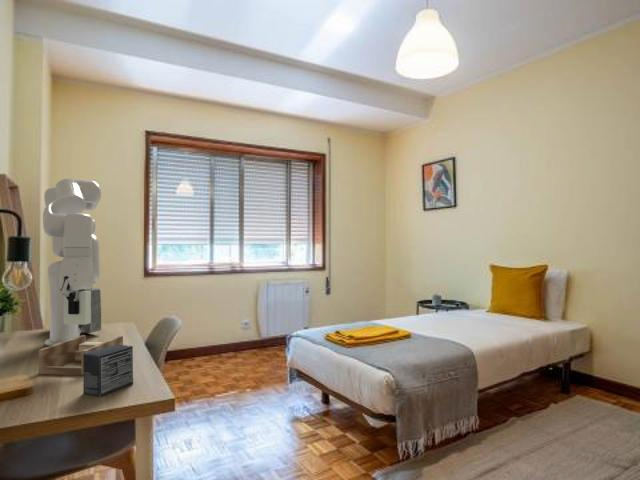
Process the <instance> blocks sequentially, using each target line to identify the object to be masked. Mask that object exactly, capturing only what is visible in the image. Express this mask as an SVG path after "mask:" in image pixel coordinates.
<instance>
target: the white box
mask: <svg viewBox="0 0 640 480" xmlns="http://www.w3.org/2000/svg"><path fill="white" fill-rule="evenodd" d="M73 295H74V293H73ZM78 301H79V314H68V301H67V298H66V297H65V296H64V324H79V325H86V324H89V323H91V291H78Z"/></svg>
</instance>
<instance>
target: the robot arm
mask: <svg viewBox="0 0 640 480" xmlns="http://www.w3.org/2000/svg"><path fill="white" fill-rule="evenodd" d="M43 196H44V204H45V207H44V209H43V212H42V227H43V230H44V233H45V234H46V235H47V236H48V237H51V239H52V240H51V241H52V243H51V246H52V253H53V255H54V256H56V257H58V258H61V260H57V261H54V262H51V263H50V264H49V265H48V268H47V278H48V285H49V297H50V298H49V299H50V300H49V301H50V302H49V303H50V305H49V308H50V309H49V338H48V339H46V340H44V345H45V346H48V347H49V346H52V345H55V344H58V343H61V342H64V341H67V340H70V339H73V338H76V337H79V336H81V334H80V333H83V332H85V328H79V324H64V296H65V297H66V298H67V301H68V314H79V301H78V291H91V290H92V289H93V286H94V284H96V283H98V281H99V280H100V277H101V261H100V260H101V259H100V257H101V256H100V242H99V238H98V237H97V235H95V234H94V233H95V231H96V221H95V219H94V218H93V217H92V215H90V214H88V213H83V212H84V211H93V210H95V209H96V207H97V206H98V204H99V202H100V200H101V198H102V190H101V186H100V184H99V183H98V182H96V181H95V180H90V179H80V178H79V179H77V178H63V179H60V180H59V181H57V183H55V187H50V188H49V187H48V188H46V190H45V192H44V195H43ZM73 293H74V295H73Z"/></svg>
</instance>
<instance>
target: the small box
mask: <svg viewBox="0 0 640 480" xmlns="http://www.w3.org/2000/svg"><path fill="white" fill-rule="evenodd" d="M133 349H134V348H133V345H127V344H126V345H125V344H123V345H114V346H110V347H106V348H103V349H99V350H95V351H92V352H88V353H85V354H83V372H84V374H83V375H82V376H83V390H82V391H83V395H87V396H91V397H92V396H93V397H96V398H102V397H104V396H106V395H108V394H112V393H115V392H116V391H118V390H121V389H124V388H127V387H129V386H132V385H134V370H133V369H134V365H133V364H134V362H133V361H134V360H133V358H134V357H133V352H134V351H133Z"/></svg>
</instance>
